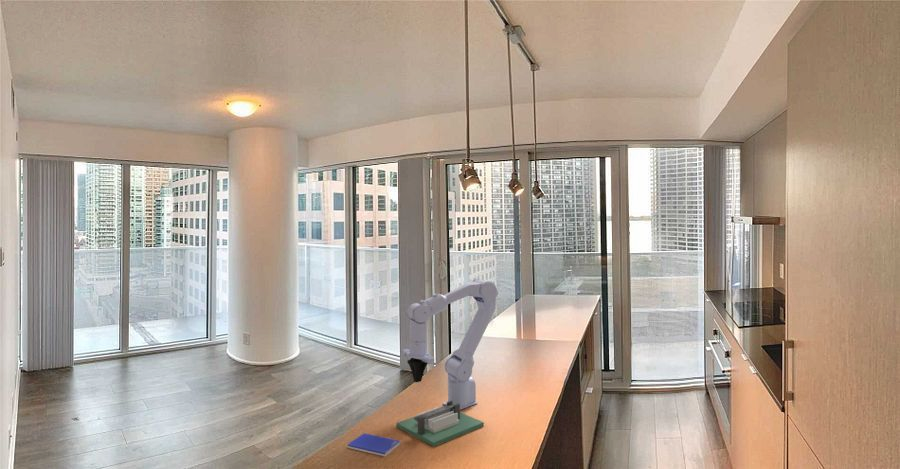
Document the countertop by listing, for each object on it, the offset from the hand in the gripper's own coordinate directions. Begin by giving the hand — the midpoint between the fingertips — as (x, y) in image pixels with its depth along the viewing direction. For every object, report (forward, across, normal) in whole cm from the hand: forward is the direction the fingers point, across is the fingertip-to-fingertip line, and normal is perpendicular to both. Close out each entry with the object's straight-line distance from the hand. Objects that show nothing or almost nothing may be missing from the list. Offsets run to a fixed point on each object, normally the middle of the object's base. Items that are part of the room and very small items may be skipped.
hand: (417, 381), depth 157 cm
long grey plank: (+6, +13, -3) cm, 15 cm away
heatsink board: (+10, +13, -2) cm, 17 cm away
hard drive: (+12, +10, -23) cm, 28 cm away
